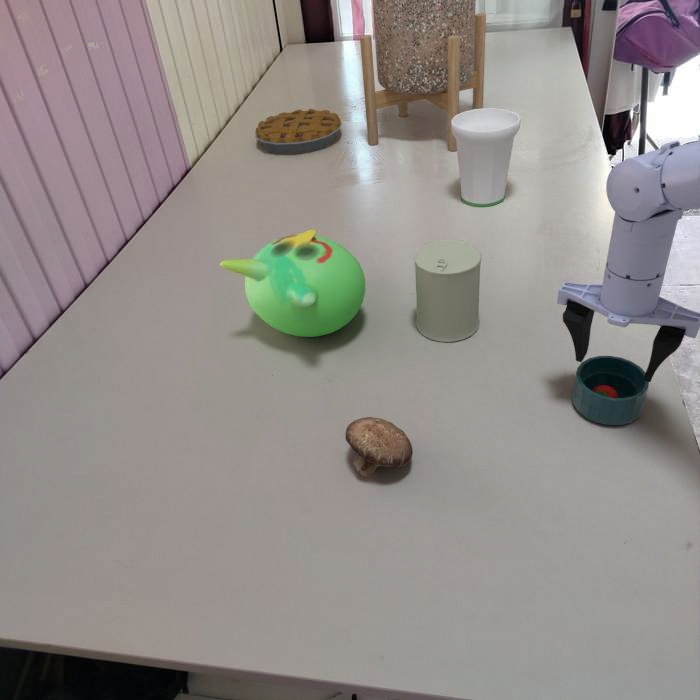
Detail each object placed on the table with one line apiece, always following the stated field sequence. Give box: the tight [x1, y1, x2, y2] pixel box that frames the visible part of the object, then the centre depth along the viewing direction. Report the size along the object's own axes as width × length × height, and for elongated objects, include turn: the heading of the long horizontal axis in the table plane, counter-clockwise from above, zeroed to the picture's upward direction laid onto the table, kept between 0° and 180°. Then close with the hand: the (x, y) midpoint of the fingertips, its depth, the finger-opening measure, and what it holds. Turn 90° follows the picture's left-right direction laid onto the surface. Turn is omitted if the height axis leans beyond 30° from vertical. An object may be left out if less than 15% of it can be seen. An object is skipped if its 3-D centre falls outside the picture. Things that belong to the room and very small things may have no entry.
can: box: [413, 239, 482, 343], centre depth 90 cm, size 9×9×12 cm
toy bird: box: [219, 228, 366, 338], centre depth 92 cm, size 18×17×15 cm
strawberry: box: [592, 385, 618, 398], centre depth 76 cm, size 3×3×4 cm
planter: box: [359, 0, 487, 152], centre depth 146 cm, size 22×23×32 cm
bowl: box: [571, 355, 650, 426], centre depth 76 cm, size 8×8×4 cm
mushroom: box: [344, 416, 414, 478], centre depth 73 cm, size 8×8×6 cm
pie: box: [254, 108, 343, 155], centre depth 158 cm, size 22×22×5 cm
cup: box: [451, 107, 522, 208], centre depth 120 cm, size 12×12×15 cm
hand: (614, 366), depth 74 cm, fingers open, 7 cm apart
